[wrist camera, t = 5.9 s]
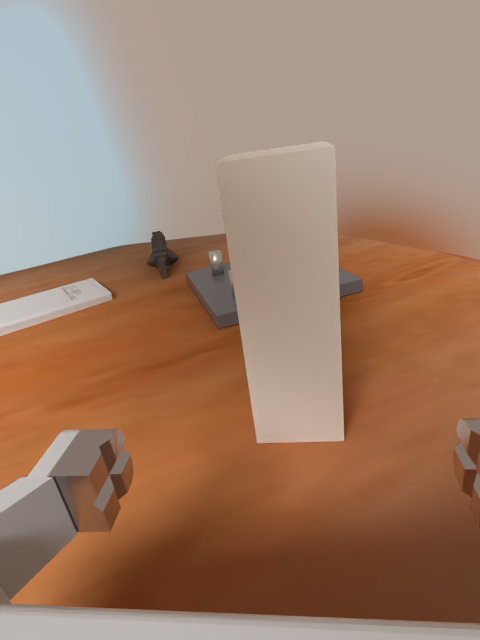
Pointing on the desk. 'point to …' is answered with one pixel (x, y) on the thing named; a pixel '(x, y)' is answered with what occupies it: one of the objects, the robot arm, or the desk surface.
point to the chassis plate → (219, 289)
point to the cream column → (287, 287)
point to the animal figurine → (161, 254)
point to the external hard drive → (51, 304)
